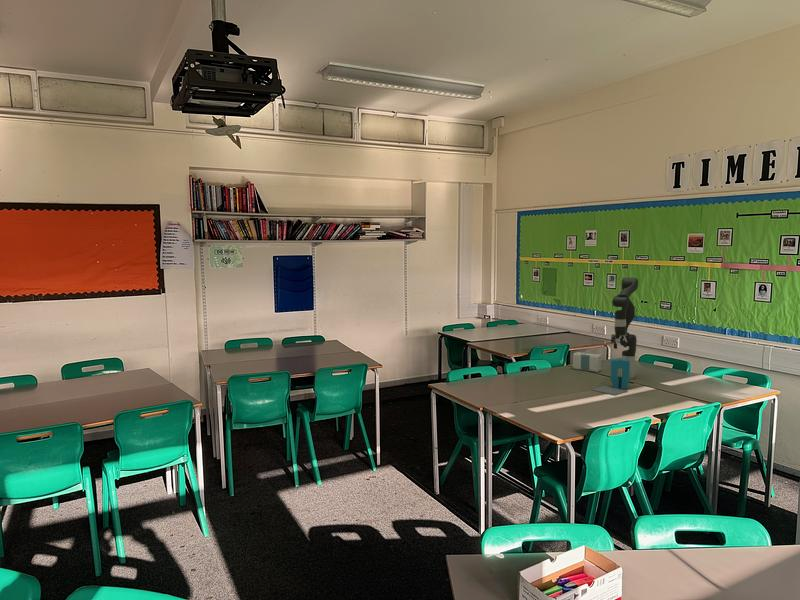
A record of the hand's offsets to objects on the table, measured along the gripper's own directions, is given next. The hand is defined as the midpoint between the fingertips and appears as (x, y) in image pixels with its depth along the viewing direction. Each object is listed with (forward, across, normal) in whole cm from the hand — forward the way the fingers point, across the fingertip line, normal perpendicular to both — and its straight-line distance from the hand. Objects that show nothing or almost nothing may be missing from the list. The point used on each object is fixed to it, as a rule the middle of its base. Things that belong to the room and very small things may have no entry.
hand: (620, 347), depth 389 cm
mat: (+27, +16, +7) cm, 32 cm away
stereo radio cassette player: (+29, -13, -49) cm, 58 cm away
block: (+28, +4, +4) cm, 28 cm away
